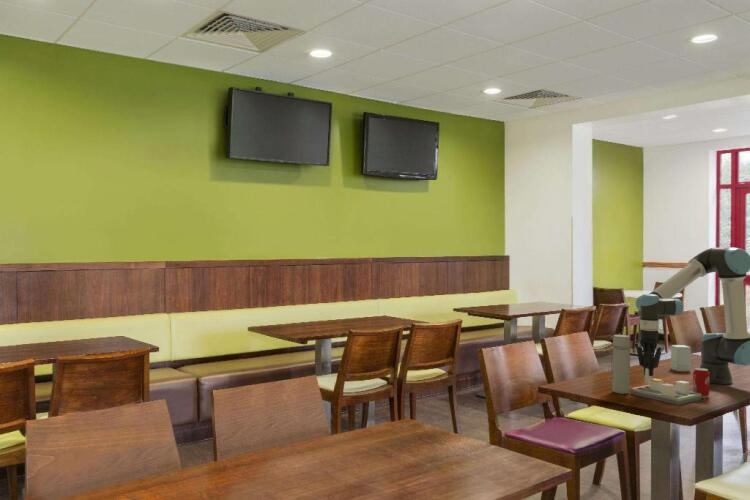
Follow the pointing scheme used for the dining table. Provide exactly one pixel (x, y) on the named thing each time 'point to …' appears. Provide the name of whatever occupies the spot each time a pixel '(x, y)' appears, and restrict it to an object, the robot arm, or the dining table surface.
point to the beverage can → (701, 382)
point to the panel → (655, 394)
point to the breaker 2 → (683, 387)
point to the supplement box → (680, 358)
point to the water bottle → (620, 364)
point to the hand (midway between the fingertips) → (648, 382)
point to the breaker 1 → (668, 389)
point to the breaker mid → (656, 384)
